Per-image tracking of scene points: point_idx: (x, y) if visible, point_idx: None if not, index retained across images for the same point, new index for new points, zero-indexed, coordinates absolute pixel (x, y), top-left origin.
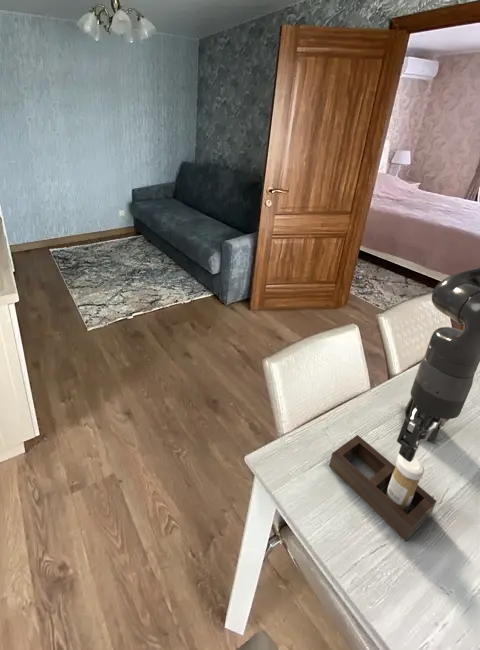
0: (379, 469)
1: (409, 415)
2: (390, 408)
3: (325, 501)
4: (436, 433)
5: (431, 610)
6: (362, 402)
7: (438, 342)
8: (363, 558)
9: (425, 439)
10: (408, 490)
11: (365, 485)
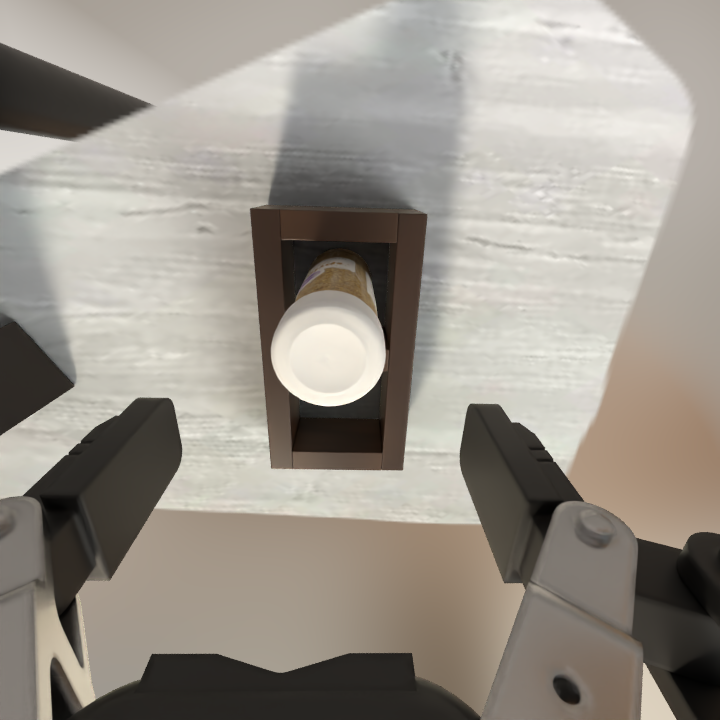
0: None
1: (13, 425)
2: (43, 450)
3: (494, 385)
4: (121, 452)
5: (541, 67)
6: None
7: None
8: (554, 252)
9: (618, 638)
10: (365, 288)
11: (412, 366)
